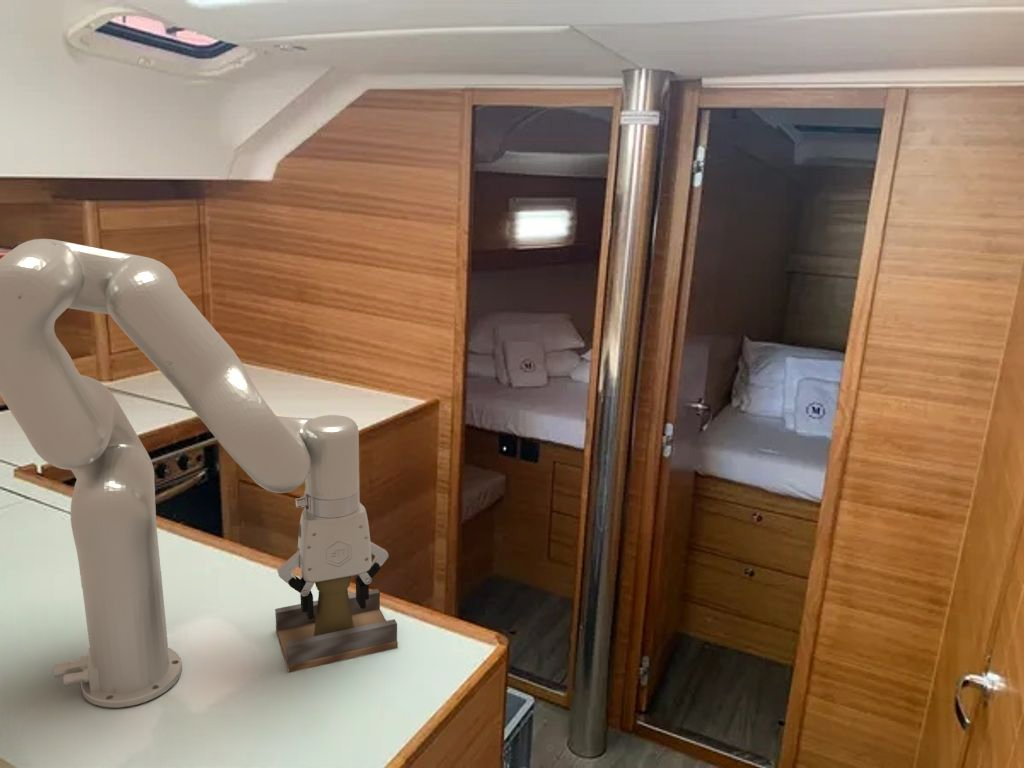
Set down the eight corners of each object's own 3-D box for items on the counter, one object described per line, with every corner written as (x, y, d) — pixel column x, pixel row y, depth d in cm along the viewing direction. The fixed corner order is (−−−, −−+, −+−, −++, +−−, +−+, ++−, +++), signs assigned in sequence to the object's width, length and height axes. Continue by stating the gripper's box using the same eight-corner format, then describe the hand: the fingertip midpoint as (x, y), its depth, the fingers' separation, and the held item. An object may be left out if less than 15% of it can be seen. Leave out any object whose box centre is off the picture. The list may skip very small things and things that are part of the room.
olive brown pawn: (337, 617, 125) (336, 554, 122) (362, 633, 122) (362, 568, 118) (305, 634, 121) (303, 569, 118) (330, 650, 117) (329, 583, 114)
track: (289, 672, 113) (287, 648, 112) (275, 630, 123) (274, 607, 122) (397, 647, 120) (397, 624, 119) (377, 609, 130) (377, 587, 128)
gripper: (275, 521, 108) (280, 635, 113) (399, 502, 115) (398, 610, 120) (266, 499, 115) (271, 607, 120) (384, 483, 122) (384, 586, 127)
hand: (335, 608), depth 120 cm, fingers open, 7 cm apart
